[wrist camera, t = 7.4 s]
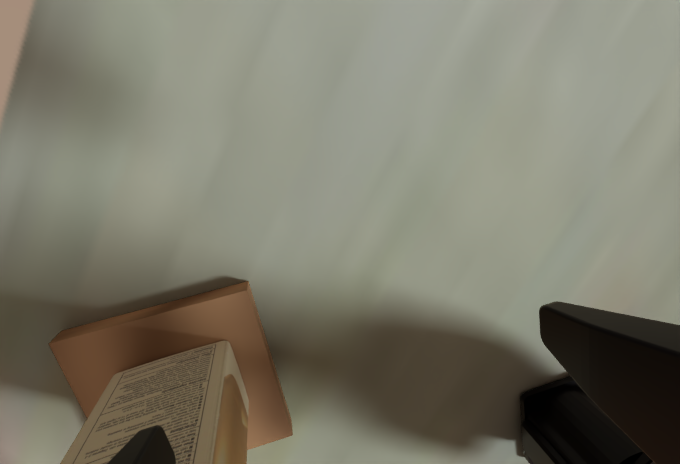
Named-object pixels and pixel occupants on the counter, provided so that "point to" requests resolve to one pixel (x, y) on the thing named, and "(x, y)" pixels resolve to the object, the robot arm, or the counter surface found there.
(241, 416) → the skincare box
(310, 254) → the counter surface
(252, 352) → the brown flat square block
